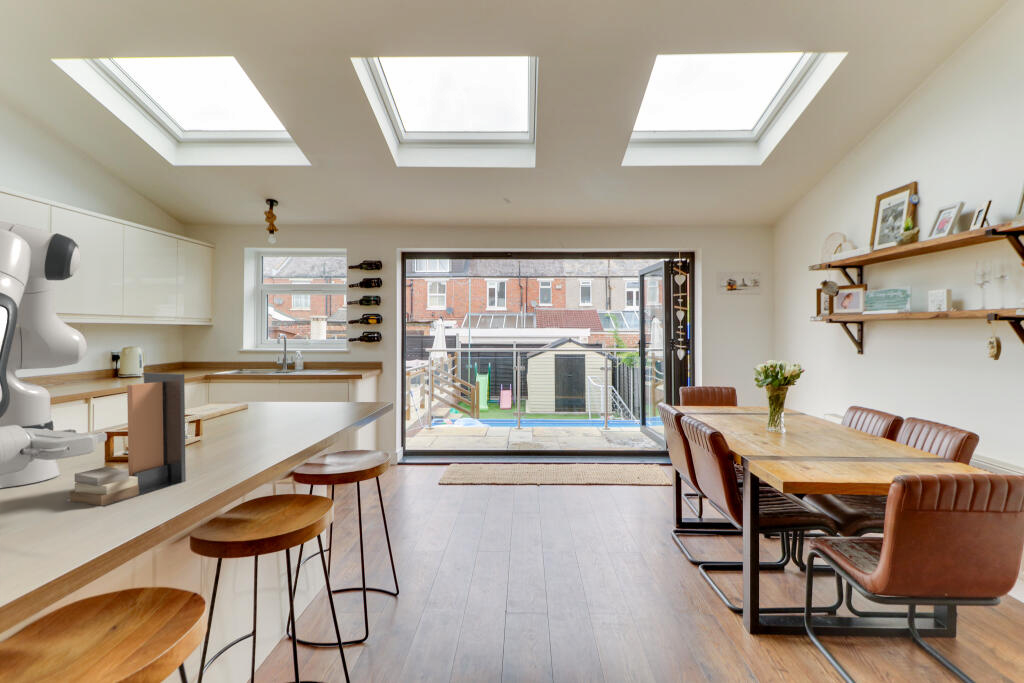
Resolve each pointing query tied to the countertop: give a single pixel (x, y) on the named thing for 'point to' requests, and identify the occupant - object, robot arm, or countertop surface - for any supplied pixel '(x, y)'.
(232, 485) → the countertop surface
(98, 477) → the offcut stack
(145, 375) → the rack
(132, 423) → the sheet
